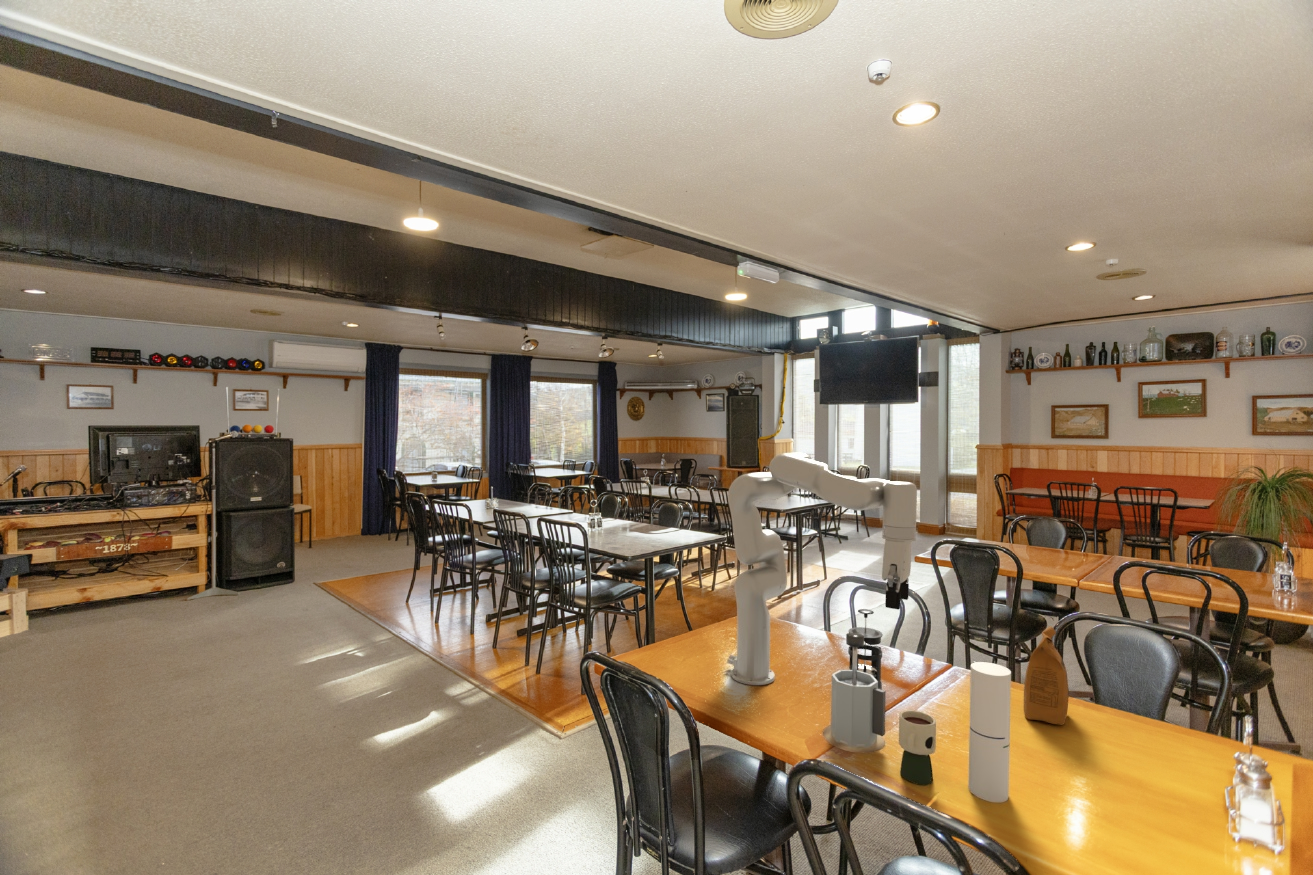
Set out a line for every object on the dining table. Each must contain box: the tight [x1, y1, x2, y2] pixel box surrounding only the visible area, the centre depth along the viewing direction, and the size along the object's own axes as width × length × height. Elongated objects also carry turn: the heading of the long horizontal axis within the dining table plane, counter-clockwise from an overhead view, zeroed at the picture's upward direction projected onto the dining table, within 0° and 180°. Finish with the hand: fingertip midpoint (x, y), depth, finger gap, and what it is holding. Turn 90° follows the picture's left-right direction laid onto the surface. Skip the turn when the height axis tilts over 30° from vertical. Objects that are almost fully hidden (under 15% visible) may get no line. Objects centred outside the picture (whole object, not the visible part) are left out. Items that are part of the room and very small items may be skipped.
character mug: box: [898, 709, 937, 786], centre depth 128 cm, size 11×7×13 cm, turn 143°
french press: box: [847, 608, 884, 690], centre depth 171 cm, size 12×9×23 cm
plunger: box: [840, 632, 869, 685], centre depth 144 cm, size 7×7×12 cm
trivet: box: [822, 724, 886, 754], centre depth 145 cm, size 14×14×1 cm
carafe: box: [830, 669, 886, 748], centre depth 144 cm, size 12×10×14 cm
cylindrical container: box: [967, 661, 1012, 804], centre depth 124 cm, size 7×7×25 cm
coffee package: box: [1023, 626, 1070, 726], centre depth 158 cm, size 10×12×22 cm
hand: (897, 603), depth 149 cm, fingers open, 9 cm apart
